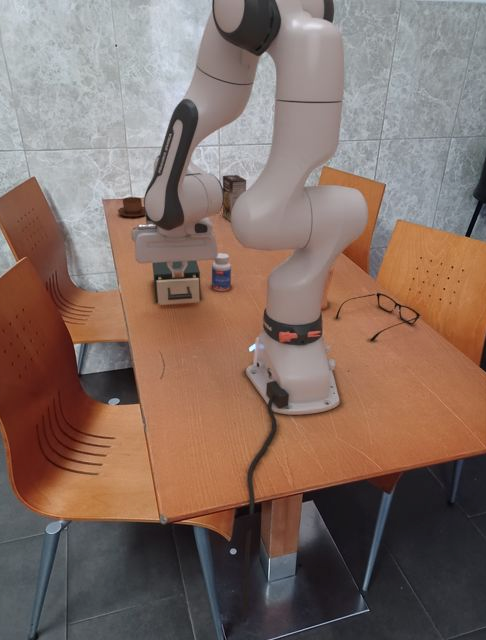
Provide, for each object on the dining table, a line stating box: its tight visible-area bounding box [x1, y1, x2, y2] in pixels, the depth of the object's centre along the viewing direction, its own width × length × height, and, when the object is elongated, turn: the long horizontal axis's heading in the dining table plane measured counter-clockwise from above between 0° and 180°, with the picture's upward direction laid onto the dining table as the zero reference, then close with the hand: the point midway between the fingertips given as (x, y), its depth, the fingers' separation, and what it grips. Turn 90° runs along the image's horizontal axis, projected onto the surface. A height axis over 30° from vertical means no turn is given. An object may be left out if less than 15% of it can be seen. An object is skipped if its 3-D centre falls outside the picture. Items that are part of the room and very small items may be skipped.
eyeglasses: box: [335, 292, 421, 341], centre depth 128 cm, size 16×16×4 cm
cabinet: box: [152, 261, 202, 303], centre depth 141 cm, size 14×12×8 cm
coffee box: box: [222, 174, 247, 222], centre depth 198 cm, size 9×6×16 cm
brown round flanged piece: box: [117, 196, 146, 218], centre depth 202 cm, size 12×12×6 cm
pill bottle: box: [211, 252, 232, 292], centre depth 142 cm, size 6×5×10 cm
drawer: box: [156, 274, 200, 306], centre depth 135 cm, size 19×11×7 cm, turn 11°
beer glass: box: [321, 263, 335, 310], centre depth 133 cm, size 7×7×15 cm
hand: (177, 276), depth 127 cm, fingers closed
